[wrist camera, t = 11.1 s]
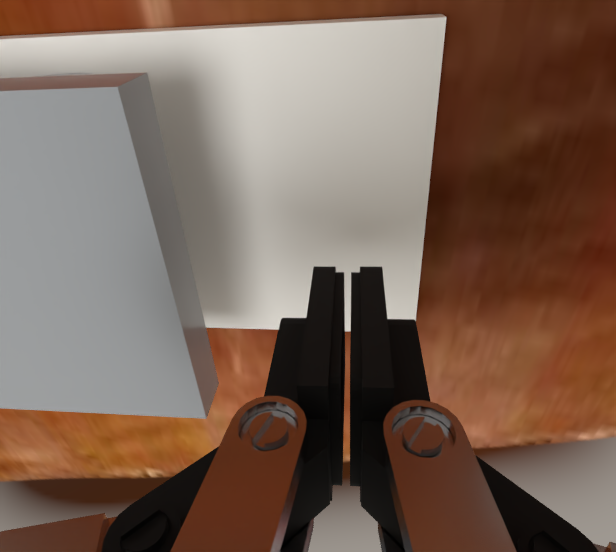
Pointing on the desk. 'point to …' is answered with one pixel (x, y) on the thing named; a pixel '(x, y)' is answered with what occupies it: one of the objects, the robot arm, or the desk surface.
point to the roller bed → (281, 148)
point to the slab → (94, 255)
